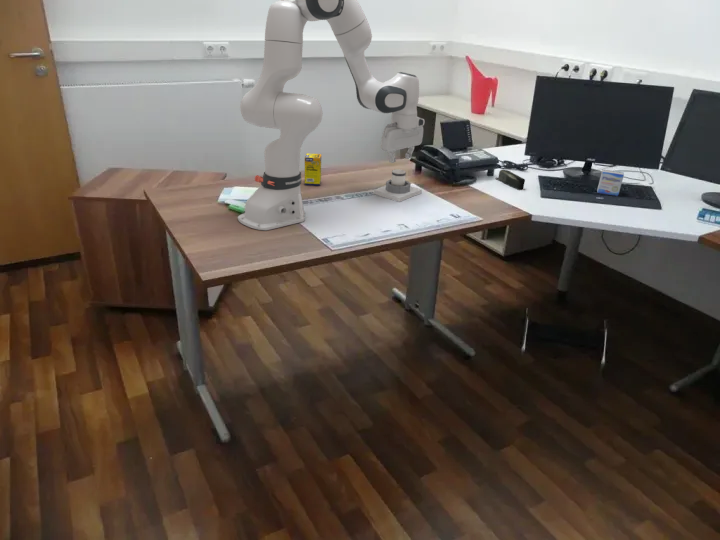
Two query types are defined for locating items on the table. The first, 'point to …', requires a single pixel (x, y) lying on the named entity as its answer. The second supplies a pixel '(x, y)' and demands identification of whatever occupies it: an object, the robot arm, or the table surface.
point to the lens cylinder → (398, 177)
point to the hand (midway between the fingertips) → (400, 160)
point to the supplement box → (313, 169)
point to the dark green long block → (511, 179)
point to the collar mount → (397, 191)
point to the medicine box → (610, 182)
